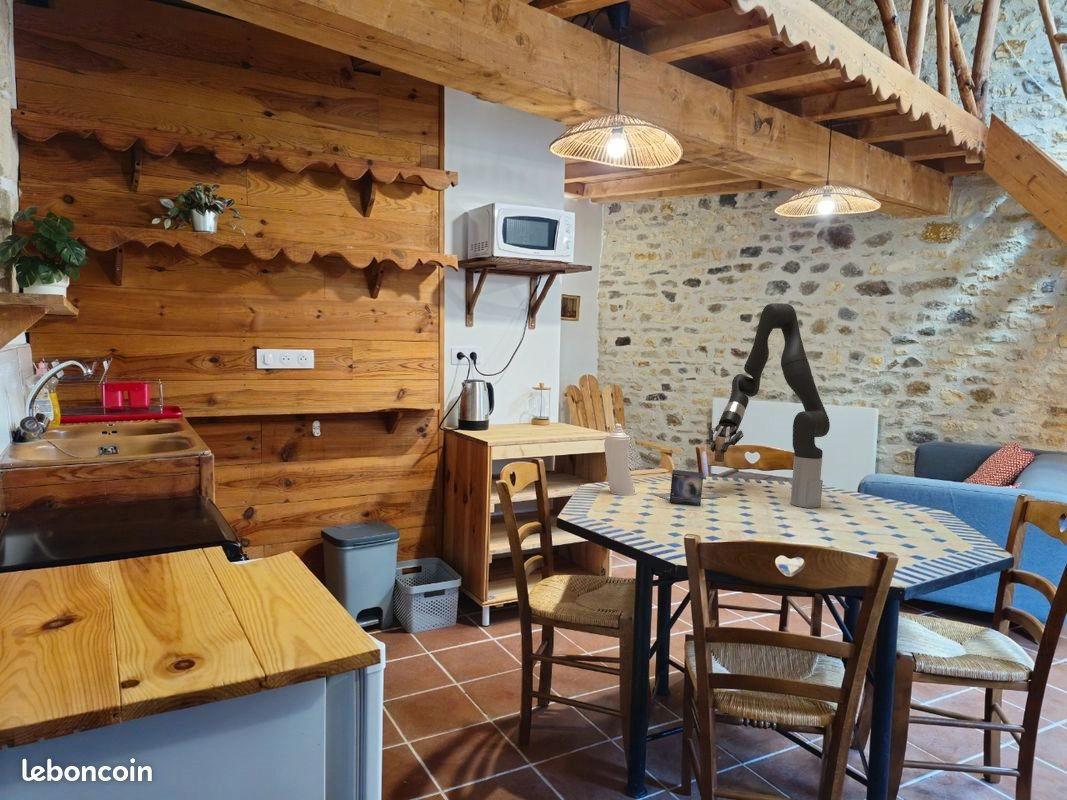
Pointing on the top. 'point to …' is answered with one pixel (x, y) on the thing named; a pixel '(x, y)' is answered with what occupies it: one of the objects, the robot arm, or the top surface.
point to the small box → (686, 487)
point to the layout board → (704, 495)
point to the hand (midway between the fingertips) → (717, 451)
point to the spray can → (618, 462)
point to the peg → (719, 449)
